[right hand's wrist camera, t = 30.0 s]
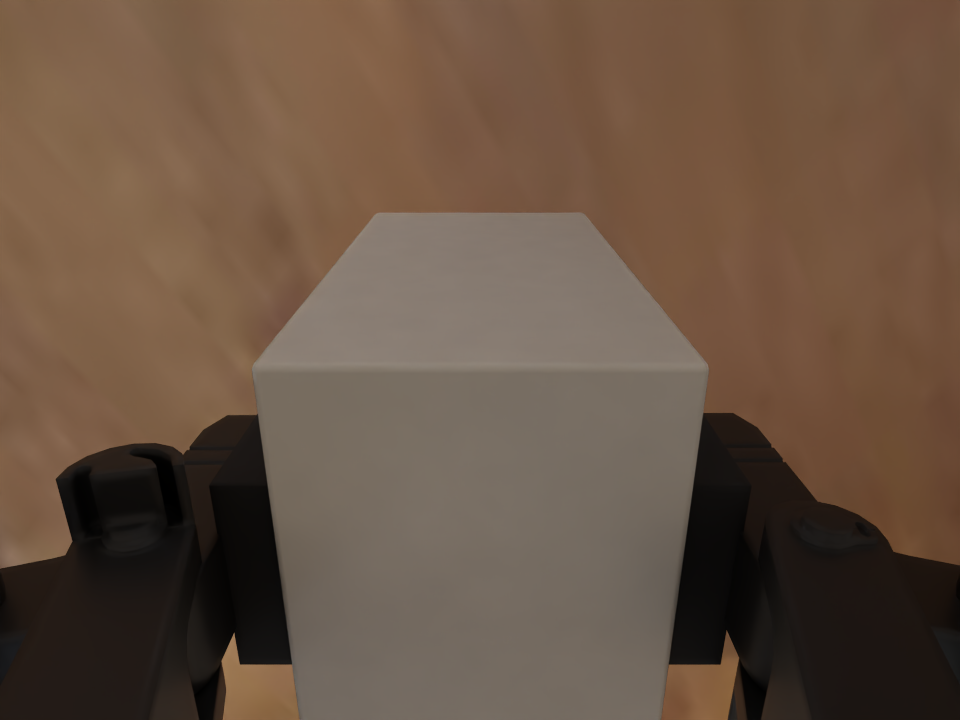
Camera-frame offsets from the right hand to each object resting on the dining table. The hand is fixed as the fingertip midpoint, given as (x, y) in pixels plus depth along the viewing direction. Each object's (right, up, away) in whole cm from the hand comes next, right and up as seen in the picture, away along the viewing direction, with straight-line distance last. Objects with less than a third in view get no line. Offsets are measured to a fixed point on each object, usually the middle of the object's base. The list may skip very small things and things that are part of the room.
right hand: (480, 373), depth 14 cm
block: (0, +1, +2) cm, 2 cm away
